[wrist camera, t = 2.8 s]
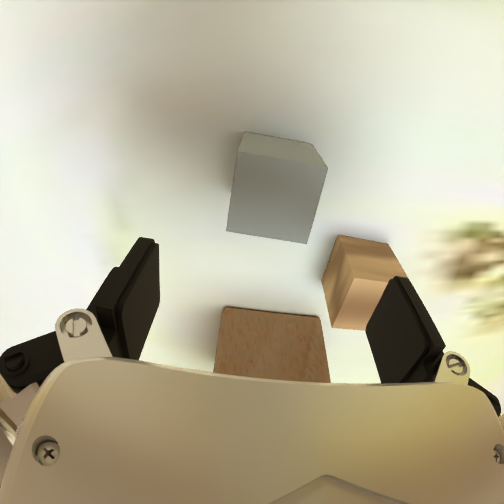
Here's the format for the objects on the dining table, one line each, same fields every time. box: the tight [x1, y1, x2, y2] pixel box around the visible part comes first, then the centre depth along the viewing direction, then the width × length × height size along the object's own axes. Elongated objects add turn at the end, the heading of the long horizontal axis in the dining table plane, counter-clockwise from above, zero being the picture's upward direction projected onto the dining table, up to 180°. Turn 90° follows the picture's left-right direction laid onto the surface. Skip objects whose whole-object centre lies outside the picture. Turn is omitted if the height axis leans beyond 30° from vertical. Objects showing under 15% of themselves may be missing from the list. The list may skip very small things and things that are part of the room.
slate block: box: [226, 132, 328, 244], centre depth 20 cm, size 5×5×6 cm
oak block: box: [322, 235, 408, 331], centre depth 24 cm, size 5×5×6 cm
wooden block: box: [213, 307, 331, 383], centre depth 24 cm, size 10×10×20 cm
